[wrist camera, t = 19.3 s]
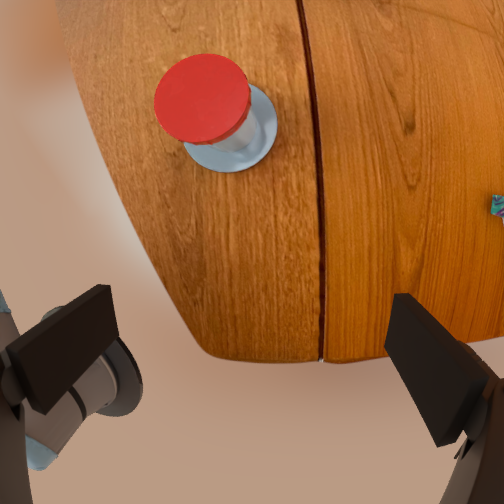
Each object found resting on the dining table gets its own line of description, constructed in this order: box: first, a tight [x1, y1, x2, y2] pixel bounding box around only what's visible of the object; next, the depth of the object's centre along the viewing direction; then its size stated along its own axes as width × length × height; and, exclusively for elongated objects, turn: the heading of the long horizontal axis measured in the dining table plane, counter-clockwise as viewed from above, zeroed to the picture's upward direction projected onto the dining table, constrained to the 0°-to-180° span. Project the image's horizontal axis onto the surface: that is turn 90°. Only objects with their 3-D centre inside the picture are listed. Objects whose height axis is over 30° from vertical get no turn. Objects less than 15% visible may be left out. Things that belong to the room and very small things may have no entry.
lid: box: [154, 54, 252, 146], centre depth 20 cm, size 7×7×2 cm
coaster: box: [183, 84, 278, 173], centre depth 31 cm, size 11×11×1 cm
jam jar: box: [206, 106, 257, 153], centre depth 25 cm, size 6×6×12 cm
